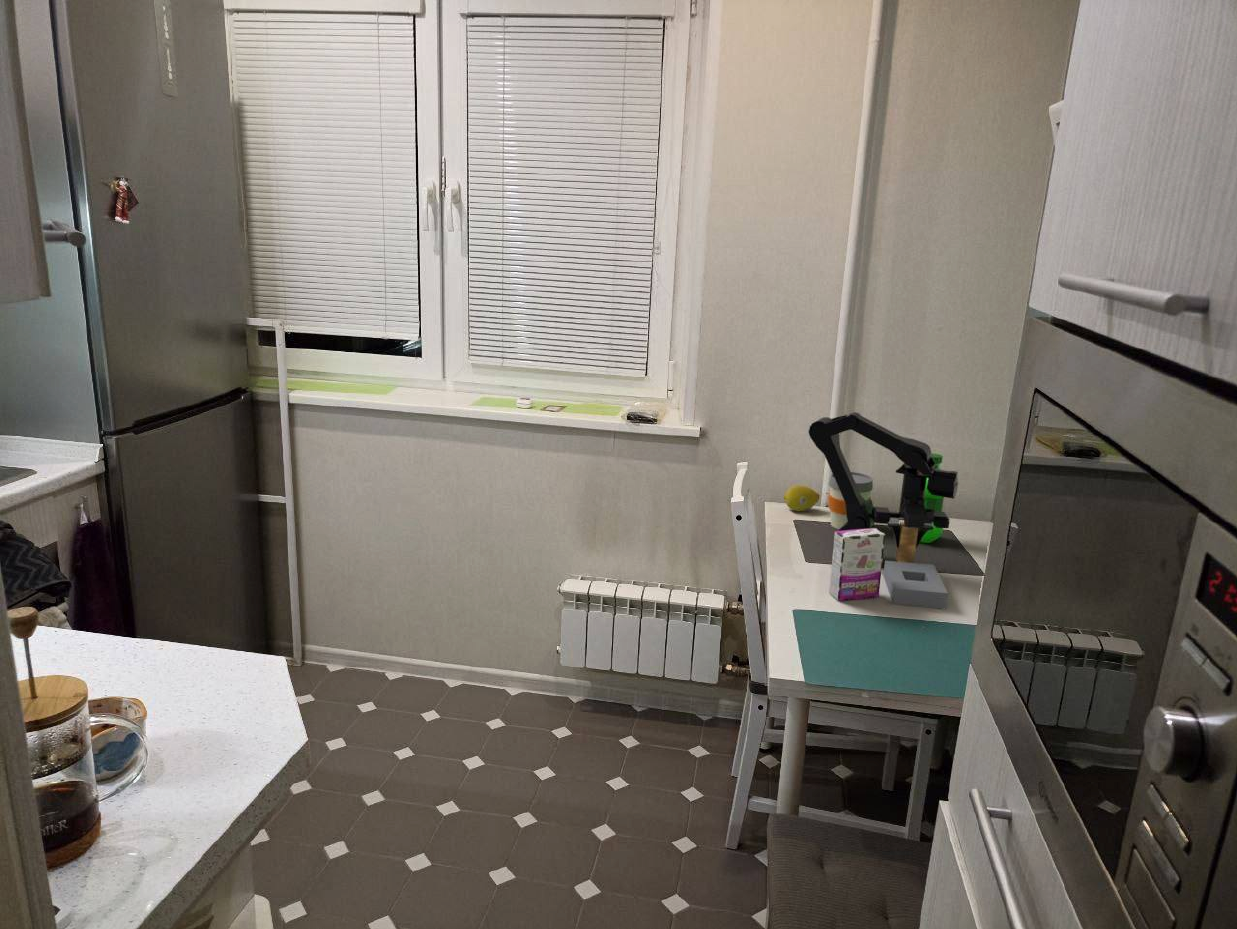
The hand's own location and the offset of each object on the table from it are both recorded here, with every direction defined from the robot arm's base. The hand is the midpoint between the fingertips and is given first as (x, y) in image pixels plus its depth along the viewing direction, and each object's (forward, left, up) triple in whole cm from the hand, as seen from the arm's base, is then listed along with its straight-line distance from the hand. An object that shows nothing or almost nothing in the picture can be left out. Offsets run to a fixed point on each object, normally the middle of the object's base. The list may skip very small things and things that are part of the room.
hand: (906, 548), depth 236 cm
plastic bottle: (+9, +23, -6) cm, 25 cm away
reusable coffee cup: (-12, +30, -6) cm, 33 cm away
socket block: (0, -16, -5) cm, 17 cm away
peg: (0, 0, -4) cm, 4 cm away
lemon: (-25, +41, -6) cm, 48 cm away
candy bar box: (-15, -22, -6) cm, 27 cm away
